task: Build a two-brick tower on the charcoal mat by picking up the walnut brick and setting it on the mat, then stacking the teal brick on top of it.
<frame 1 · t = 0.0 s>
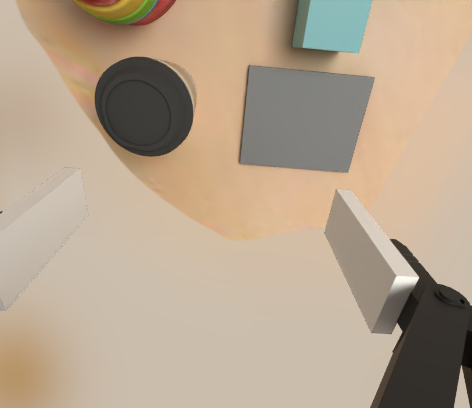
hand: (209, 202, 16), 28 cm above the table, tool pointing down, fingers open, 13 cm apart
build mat: (301, 122, 41), on the table
coffee cup: (171, 91, 40), on the table
teal brick: (323, 6, 35), on the table
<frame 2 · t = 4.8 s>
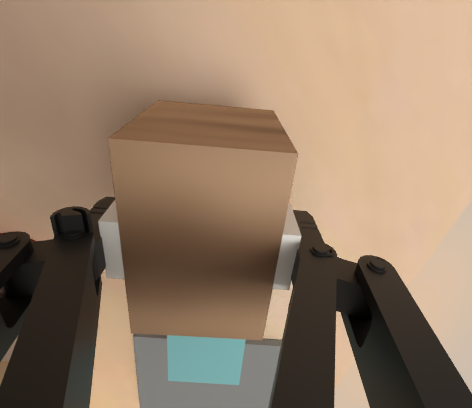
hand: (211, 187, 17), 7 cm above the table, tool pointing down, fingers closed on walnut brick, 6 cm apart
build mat: (206, 373, 35), on the table
walnut brick: (212, 184, 18), point 6 cm above the table, touching gripper
teal brick: (212, 285, 30), on the table
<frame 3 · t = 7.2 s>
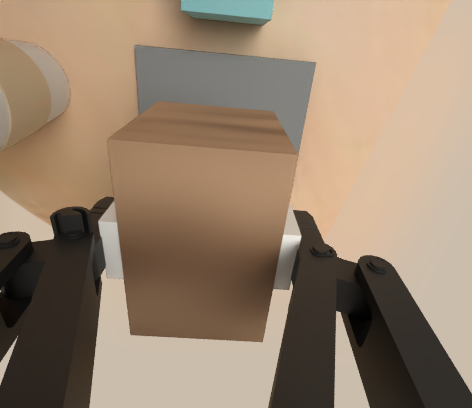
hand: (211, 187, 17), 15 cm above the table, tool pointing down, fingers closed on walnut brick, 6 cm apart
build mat: (222, 125, 30), on the table
walnut brick: (212, 184, 18), point 14 cm above the table, touching gripper
coffee cup: (34, 82, 28), on the table
when the fingers open (1 cm above the table, at t = 9.8 s): walnut brick stays where it is, resting on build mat.
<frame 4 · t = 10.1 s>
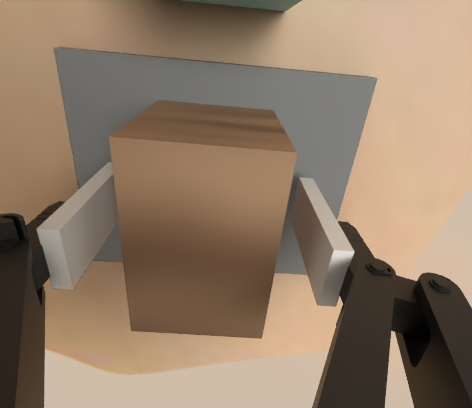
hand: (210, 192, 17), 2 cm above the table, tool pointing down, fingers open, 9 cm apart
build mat: (213, 177, 19), on the table
walnut brick: (212, 183, 18), point 1 cm above the table, touching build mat
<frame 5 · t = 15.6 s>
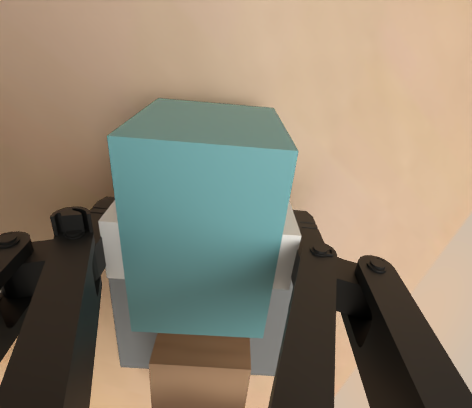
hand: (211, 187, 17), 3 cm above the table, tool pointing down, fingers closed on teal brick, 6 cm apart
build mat: (208, 316, 27), on the table
walnut brick: (207, 324, 26), point 1 cm above the table, touching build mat
teal brick: (212, 182, 18), point 3 cm above the table, touching gripper
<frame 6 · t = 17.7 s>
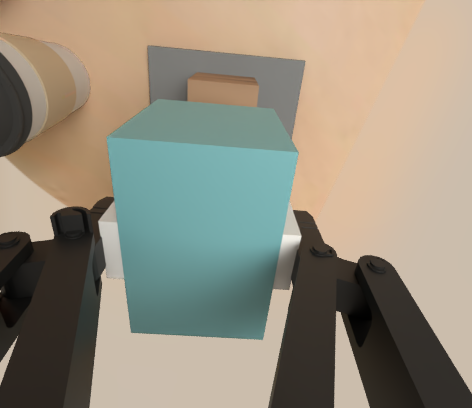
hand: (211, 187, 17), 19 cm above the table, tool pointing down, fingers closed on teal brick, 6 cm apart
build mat: (223, 116, 34), on the table
walnut brick: (223, 118, 33), point 1 cm above the table, touching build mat
coffee cup: (58, 78, 32), on the table
teal brick: (212, 182, 18), point 19 cm above the table, touching gripper
when the fingers open (8 cm above the table, at t = 19.9 s): teal brick stays where it is, resting on walnut brick.
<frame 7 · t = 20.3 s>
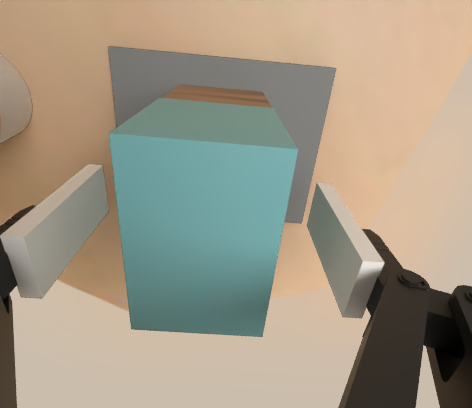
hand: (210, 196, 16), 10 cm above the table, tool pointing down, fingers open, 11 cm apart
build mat: (219, 144, 25), on the table
walnut brick: (218, 147, 24), point 1 cm above the table, touching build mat, teal brick
teal brick: (212, 181, 18), point 8 cm above the table, touching walnut brick
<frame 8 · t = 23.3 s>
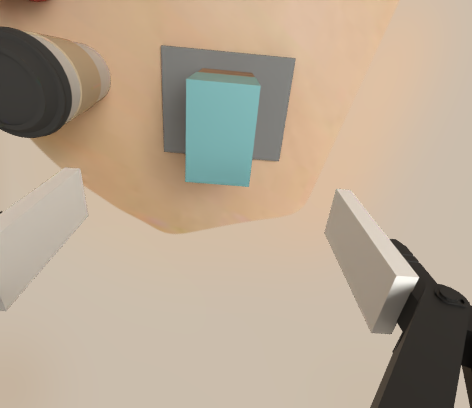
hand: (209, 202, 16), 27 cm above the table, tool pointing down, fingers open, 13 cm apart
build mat: (225, 107, 39), on the table
coffee cup: (83, 73, 38), on the table
teal brick: (223, 119, 32), point 8 cm above the table, touching walnut brick
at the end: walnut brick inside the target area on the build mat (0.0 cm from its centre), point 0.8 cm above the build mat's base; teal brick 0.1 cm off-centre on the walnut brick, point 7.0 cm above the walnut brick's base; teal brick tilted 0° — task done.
